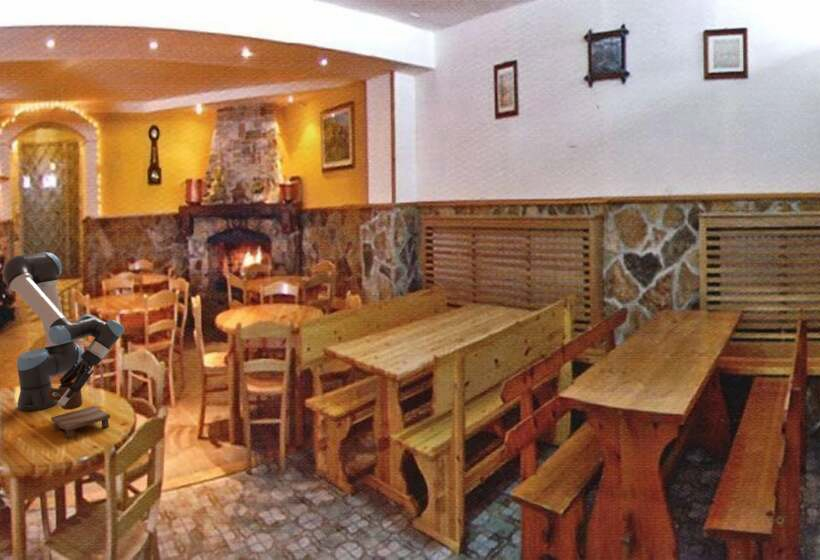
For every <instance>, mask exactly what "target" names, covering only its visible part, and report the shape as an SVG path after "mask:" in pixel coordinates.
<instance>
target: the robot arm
mask: <svg viewBox="0 0 820 560" xmlns="http://www.w3.org/2000/svg"><path fill="white" fill-rule="evenodd" d="M62 271H63V266H62V262H61V261H60V258H58V256H56V255H55V254H54V253H52V252H48V251H47V252H36V253H35V252H34V253H27V254H18V255H15V256H12V257H11V258H9V259H8V260H7V261H6V262H5V263H4V266H3V269H2V277H3V281H4V283H5V284H6V286H7V287H8V288H9V290H10V291H12V292H15V293H17V294H18V295H19V296H20V298H21V299H22V300H23V301H24V302H25V303H26V305H28V307H29V308H30V309H31V311H33V313H35V314H36V316H37V317H38V318H39V319H40V320H41V322H42V326H43V327H42V328H43V330H44V335H45V338H46V343H45V345H44V348H36V349H31V350H27V351H25V352H23V353H21V354H20V355H19V356H18V357H17V359H16V369H17V372H18V373H17V374H18V382H19V390H20V391H19V395H18V400H17V403H16V404H17V410H19V411H21V412H34V411H35V410H36V411H40V410H45V409H48V408H52V407H54V406H56V405H57V404H59V405H63V406H64V405H65V404H66V403H67V401H68V400H69V399H70V398H71V396H72V395H73V394H74V393H75V392H77V391H78V392H79V391H80V390H81V391H82V388H83V387H84V386H85V384H86V382H87V381H88V380H89V378H90V377H91V375H92V374H94V372H95V370H94V369H93V366H94V367H98V365H99V364H100V363H101V362H102V359H104V358H105V356H106V355H108V353H109V352H110V350H111V349H112V347H113V346H114V345H115V344H116V343H117V342H118V340H119V339H120V338H121V336H122V335H123V333H124V332H125V330H126V329H125V326H123V325H122V324H121V323H119V322H118V321H117V320H114V319H109V320H108V321H107V322H106V321H104V320H103V319H101V318H98V317H97V316H95V315H92V314H88V313H85V314H83V315H82V316H79V318H78V320H75V321H70V320H69V319H68V318H67V316H65V315H64V313H63V309H62V303H61V300H60V297H59V292H58V289H57V283H58V282H59V277H60V276H61V274H62ZM87 337H88V338H89V337H93V338H94V339H93V340H92V341H91V342H90V344H89V345H88V346H87V349H86V350H84V351H83V350H82V349H83V348H82V347H81V346H80V345H79V343H75V342H74V341H76V340H80V339H85V338H87ZM62 374H63V376H62V377H61V378H59V382H60V383H59V385H58V386H57V387H56V388H57V389H59V386H60V385H62V384H64V383H68V382H73V384H72V386H71V387H69V389H68V390H67V391H66V392H65V394H64V395H63V396H62V397H61V399H60V400H59V401H58V400H51V399H49V398H48V396H47V393H48V391H49V390H50V389H52V388H54V387H53V385H52V378H53V377H55V376H59V375H62ZM73 380H74V381H73ZM51 394H52V395H53V396H60V393H57V392H52V393H51Z"/></svg>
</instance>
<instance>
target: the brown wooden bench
mask: <svg viewBox="0 0 820 560" xmlns="http://www.w3.org/2000/svg"><path fill="white" fill-rule="evenodd" d="M50 418H51V419H50V420H51V422H52V423H53V427H54V431H55V432H58V431H60V430H62V429H63V430H65V435H66V438H67V439H68V440H70V439H69V438H71V439H74V438H75V434H74V430H75V429H79V428H81V427H85V426H88V425H93V424H95V423H96V424H97V423H99V422H101V428H102V427H103V428H102V429H106V427H108V428H109V427H110V425H109V419H111V414H109V413H107V412H106V411H104V410H103V409H100V408H98V407H96V406H94V405H93V406H92V405H91V406H89V407H85V408H81V409H80V408H79V409H78V410H77V409H76V410H74V411H70V412H66V413H63V414H59V415H55V416H52V417H50ZM73 437H74V438H73Z"/></svg>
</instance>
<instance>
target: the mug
mask: <svg viewBox="0 0 820 560" xmlns="http://www.w3.org/2000/svg"><path fill="white" fill-rule="evenodd" d="M73 382H74V381H71V382H68V383H64V384H62V385H60V384H59V385H60V386H59V385H58V386H59V389H57V387H56V388H55V387H53V388H52V389H50V390H49V391H48V393H47V396H48V398H49V399H51V400H58V401H59V400H60V399H61V397H62V396H63V395H64V394H65V392H66V391H67V390H68V389H69V387H71V386H72V384H73ZM52 392H57V393H60V396H53V395H52V394H51V393H52ZM60 405H61V404H60ZM82 405H83V398H82V389H81V390H80V391H79V392H78V391H77V392H75V393H74V394H73V395H72V396H71V398H70V399H69V400H68V401H67V403H66V404H65V405H64V406H63V405H61V408H62V409H63V410H64V411H65V410H66V411H69V410H75V409H76V410H77V409H78V408H79V409H80V408H81V407H82Z"/></svg>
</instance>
